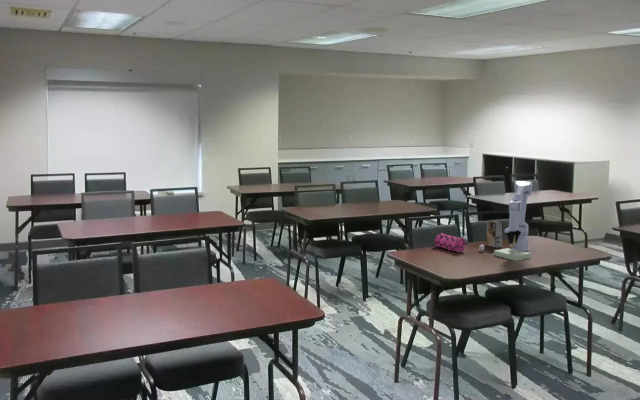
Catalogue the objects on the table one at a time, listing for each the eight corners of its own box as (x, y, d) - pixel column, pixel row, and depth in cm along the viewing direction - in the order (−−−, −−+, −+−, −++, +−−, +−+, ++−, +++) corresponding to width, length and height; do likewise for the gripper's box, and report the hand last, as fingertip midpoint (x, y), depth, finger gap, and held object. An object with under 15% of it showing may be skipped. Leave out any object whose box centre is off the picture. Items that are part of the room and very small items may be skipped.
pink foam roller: (467, 252, 354) (468, 236, 353) (456, 254, 349) (457, 238, 348) (442, 245, 372) (443, 230, 371) (432, 247, 367) (432, 232, 366)
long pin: (512, 245, 345) (512, 234, 344) (516, 246, 342) (516, 235, 341) (508, 246, 343) (509, 234, 342) (512, 247, 341) (513, 235, 340)
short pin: (481, 250, 358) (481, 244, 358) (485, 251, 356) (485, 245, 355) (478, 251, 357) (478, 245, 356) (481, 252, 354) (482, 246, 354)
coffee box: (502, 247, 370) (503, 222, 368) (494, 247, 368) (496, 223, 365) (492, 244, 379) (494, 220, 376) (485, 245, 376) (486, 221, 374)
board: (508, 252, 354) (508, 248, 353) (530, 258, 341) (530, 253, 340) (493, 255, 346) (493, 250, 346) (515, 260, 333) (515, 255, 333)
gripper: (516, 219, 348) (515, 240, 350) (500, 221, 340) (499, 243, 342) (526, 220, 342) (524, 242, 344) (510, 222, 334) (509, 245, 336)
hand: (512, 243), depth 342 cm, fingers closed on long pin, 3 cm apart
